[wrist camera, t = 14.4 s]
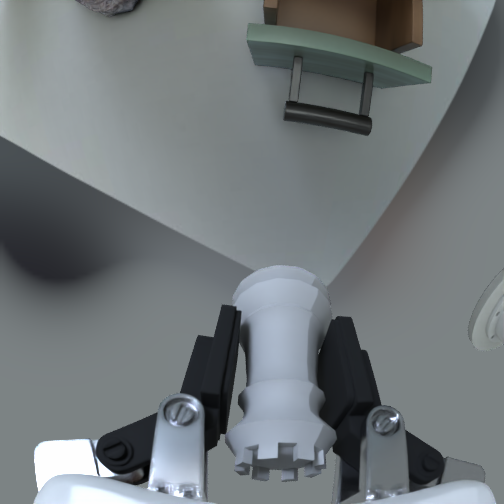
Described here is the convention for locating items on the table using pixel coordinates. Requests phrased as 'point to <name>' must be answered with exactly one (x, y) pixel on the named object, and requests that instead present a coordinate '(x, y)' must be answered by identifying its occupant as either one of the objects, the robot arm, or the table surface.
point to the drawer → (340, 50)
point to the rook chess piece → (281, 374)
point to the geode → (109, 6)
